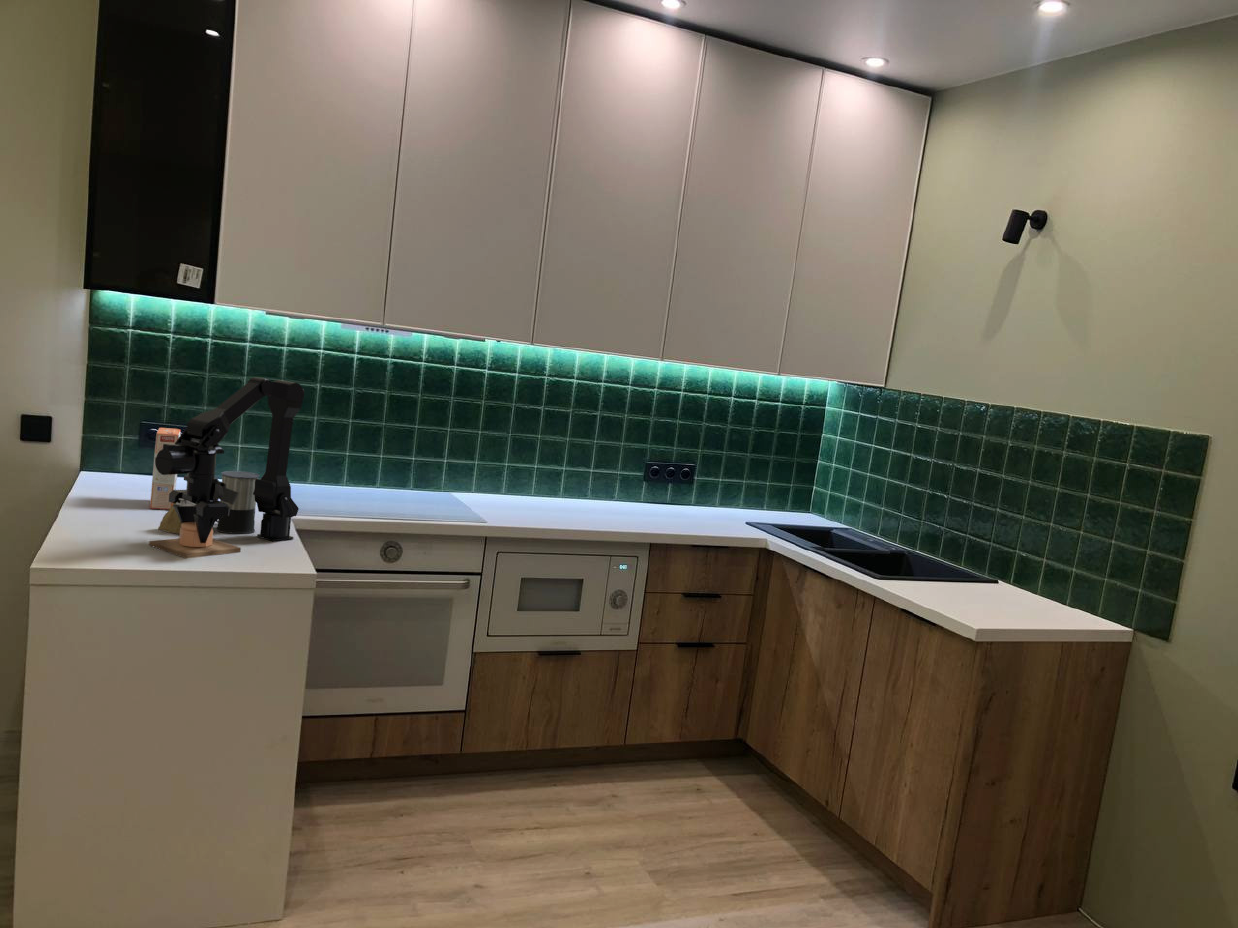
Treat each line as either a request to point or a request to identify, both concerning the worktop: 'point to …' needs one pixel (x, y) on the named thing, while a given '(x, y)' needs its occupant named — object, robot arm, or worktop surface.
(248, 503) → the milk frother
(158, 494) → the cracker box
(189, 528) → the cap
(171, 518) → the rock
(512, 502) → the worktop surface
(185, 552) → the wooden peg board
